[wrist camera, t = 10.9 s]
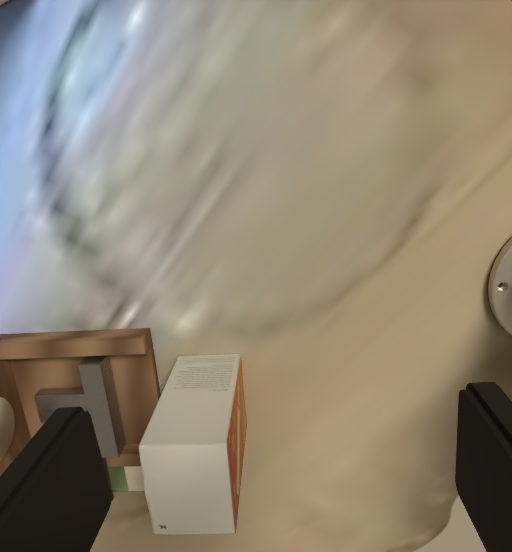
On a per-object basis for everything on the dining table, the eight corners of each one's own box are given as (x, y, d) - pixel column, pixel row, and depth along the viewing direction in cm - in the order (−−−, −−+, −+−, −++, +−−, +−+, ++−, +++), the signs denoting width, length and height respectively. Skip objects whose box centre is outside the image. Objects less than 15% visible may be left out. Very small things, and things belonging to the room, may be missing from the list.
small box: (248, 422, 43) (237, 536, 31) (186, 424, 44) (151, 537, 31) (242, 351, 41) (227, 444, 29) (177, 353, 41) (134, 446, 29)
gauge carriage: (108, 353, 40) (99, 364, 38) (134, 485, 45) (127, 501, 43) (32, 356, 41) (19, 367, 39) (65, 486, 46) (55, 502, 44)
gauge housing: (150, 328, 41) (117, 377, 32) (173, 480, 46) (151, 556, 38) (-12, 334, 42) (-84, 384, 33) (30, 482, 47) (-22, 557, 39)
